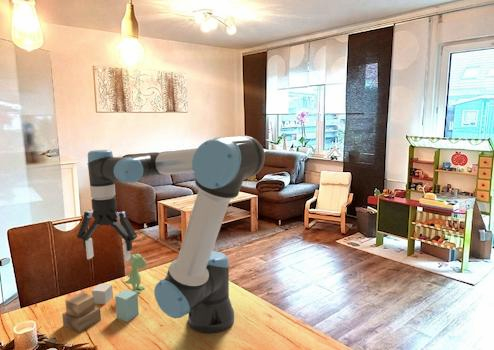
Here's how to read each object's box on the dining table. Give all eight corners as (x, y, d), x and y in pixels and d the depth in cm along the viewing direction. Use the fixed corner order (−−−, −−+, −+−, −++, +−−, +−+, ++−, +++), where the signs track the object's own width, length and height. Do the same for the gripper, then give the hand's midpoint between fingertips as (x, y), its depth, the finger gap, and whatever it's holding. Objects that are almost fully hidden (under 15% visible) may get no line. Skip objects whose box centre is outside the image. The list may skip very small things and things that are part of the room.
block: (112, 297, 132) (112, 284, 131) (105, 304, 127) (104, 291, 126) (100, 296, 133) (99, 283, 132) (92, 303, 128) (91, 290, 127)
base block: (101, 320, 117) (100, 308, 116) (79, 333, 110) (78, 320, 110) (85, 314, 121) (84, 302, 120) (63, 326, 114) (62, 313, 113)
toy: (148, 292, 135) (146, 255, 133) (126, 297, 132) (125, 258, 129) (143, 284, 142) (142, 248, 139) (123, 289, 138) (121, 252, 135)
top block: (95, 308, 116) (94, 296, 115) (78, 318, 111) (77, 304, 110) (82, 304, 119) (81, 292, 118) (66, 313, 114) (65, 300, 113)
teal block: (138, 314, 120) (137, 292, 119) (127, 322, 116) (125, 299, 115) (128, 310, 123) (126, 289, 121) (116, 317, 119) (115, 295, 117)
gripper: (144, 195, 117) (148, 255, 121) (76, 194, 121) (81, 252, 125) (133, 200, 110) (138, 264, 113) (61, 199, 114) (68, 261, 117)
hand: (108, 258), depth 119 cm, fingers open, 13 cm apart
